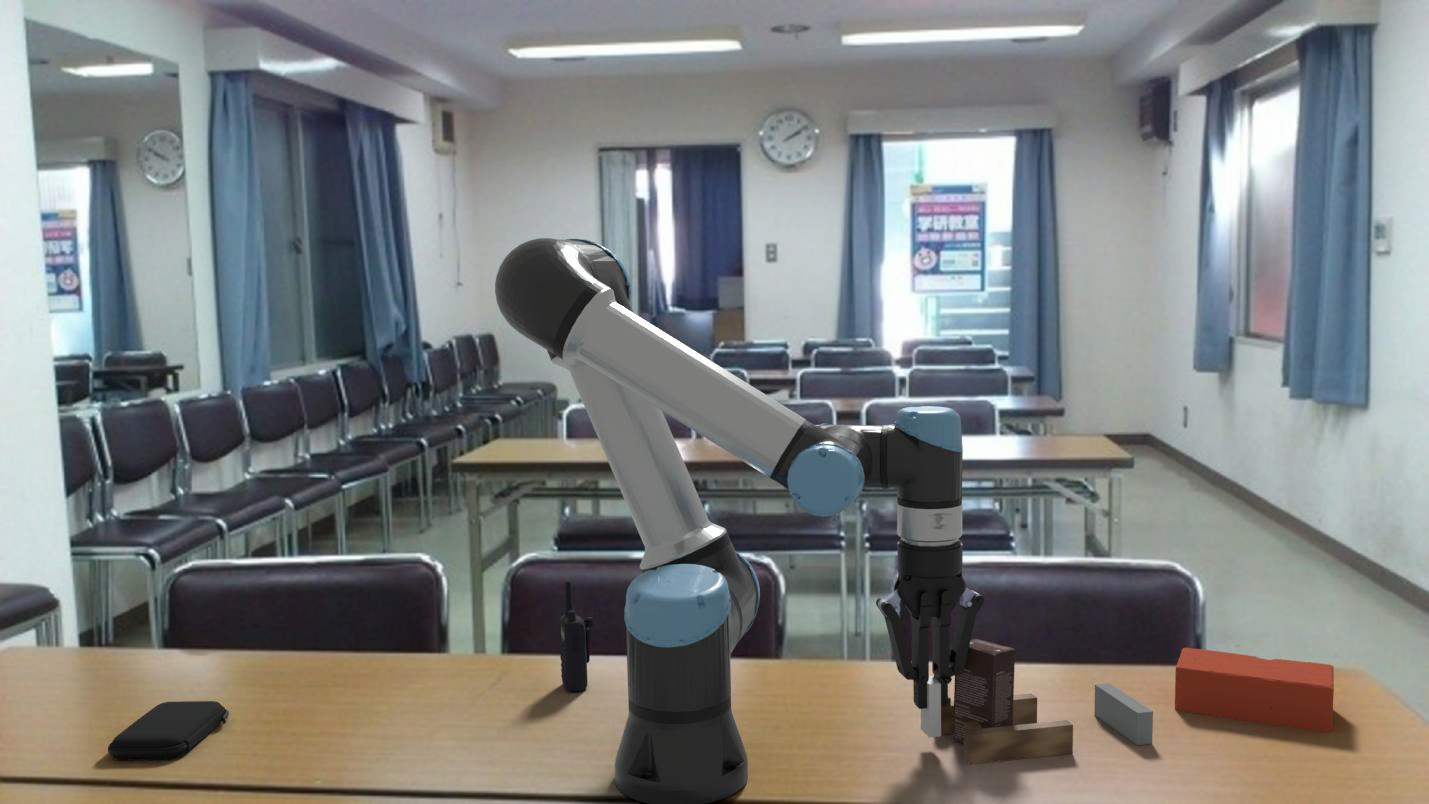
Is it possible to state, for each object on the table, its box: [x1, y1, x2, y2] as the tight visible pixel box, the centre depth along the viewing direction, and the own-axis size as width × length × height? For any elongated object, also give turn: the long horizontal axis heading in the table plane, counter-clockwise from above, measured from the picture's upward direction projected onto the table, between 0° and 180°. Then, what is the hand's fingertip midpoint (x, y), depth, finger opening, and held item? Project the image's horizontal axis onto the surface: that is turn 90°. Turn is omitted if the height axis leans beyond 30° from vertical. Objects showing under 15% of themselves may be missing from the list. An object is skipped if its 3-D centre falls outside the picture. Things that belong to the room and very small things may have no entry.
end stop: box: [1093, 682, 1154, 746], centre depth 146 cm, size 2×10×4 cm, turn 11°
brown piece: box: [941, 693, 1074, 765], centre depth 142 cm, size 13×11×4 cm
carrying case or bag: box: [107, 700, 230, 761], centre depth 149 cm, size 11×3×15 cm
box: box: [952, 638, 1016, 744], centre depth 142 cm, size 6×4×12 cm
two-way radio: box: [559, 579, 594, 692], centre depth 164 cm, size 6×4×15 cm
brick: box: [1174, 647, 1335, 733], centre depth 151 cm, size 18×9×6 cm, turn 63°
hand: (930, 732), depth 141 cm, fingers closed
